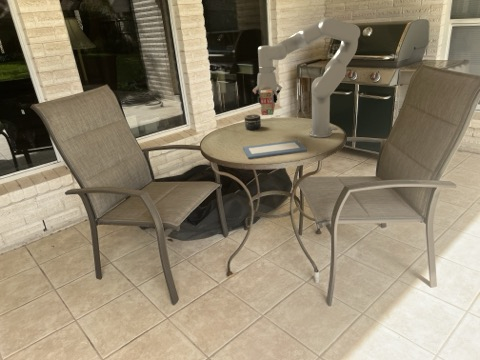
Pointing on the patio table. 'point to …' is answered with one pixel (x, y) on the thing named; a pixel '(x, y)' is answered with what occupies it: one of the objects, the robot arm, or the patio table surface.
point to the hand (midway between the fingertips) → (268, 103)
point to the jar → (252, 122)
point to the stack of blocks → (267, 101)
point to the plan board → (273, 149)
